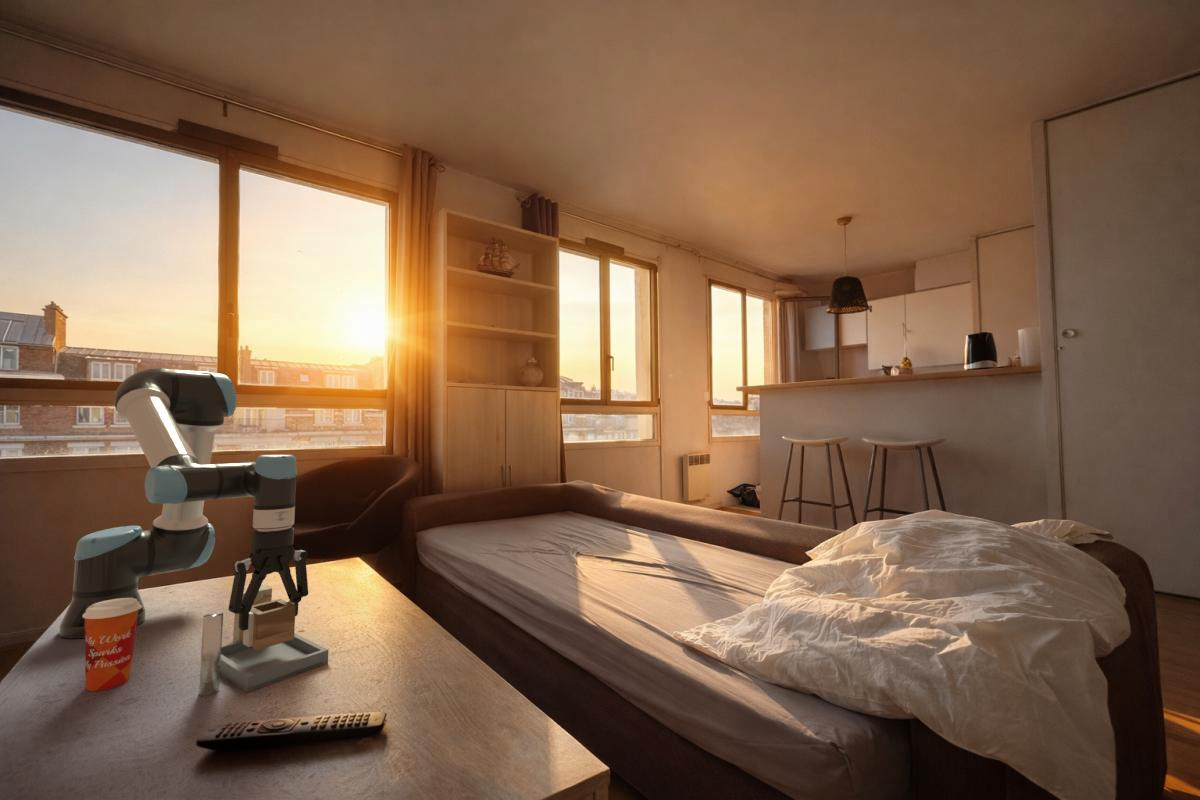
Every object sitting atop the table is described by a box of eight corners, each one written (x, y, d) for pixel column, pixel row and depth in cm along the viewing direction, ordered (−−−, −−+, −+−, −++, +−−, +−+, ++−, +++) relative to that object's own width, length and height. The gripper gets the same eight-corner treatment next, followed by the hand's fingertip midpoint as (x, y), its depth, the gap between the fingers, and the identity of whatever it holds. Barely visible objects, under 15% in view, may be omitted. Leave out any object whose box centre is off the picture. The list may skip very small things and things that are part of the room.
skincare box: (238, 650, 114) (241, 594, 115) (231, 644, 117) (234, 590, 118) (270, 641, 119) (273, 587, 120) (263, 636, 122) (266, 584, 123)
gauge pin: (196, 692, 96) (200, 615, 97) (215, 686, 98) (219, 611, 99) (202, 697, 94) (206, 619, 95) (221, 690, 97) (225, 614, 97)
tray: (205, 663, 108) (206, 649, 108) (283, 640, 120) (283, 627, 120) (247, 692, 96) (248, 677, 96) (327, 663, 108) (328, 649, 109)
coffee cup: (68, 698, 93) (74, 613, 94) (87, 678, 101) (93, 600, 101) (129, 688, 97) (134, 606, 98) (143, 669, 104) (148, 594, 105)
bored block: (242, 642, 107) (244, 607, 108) (278, 631, 113) (280, 598, 113) (257, 650, 103) (258, 614, 104) (294, 639, 109) (295, 605, 109)
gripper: (226, 537, 99) (219, 660, 98) (329, 523, 116) (325, 628, 114) (210, 533, 104) (204, 650, 102) (312, 519, 120) (308, 620, 119)
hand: (268, 638), depth 108 cm, fingers closed on bored block, 7 cm apart
